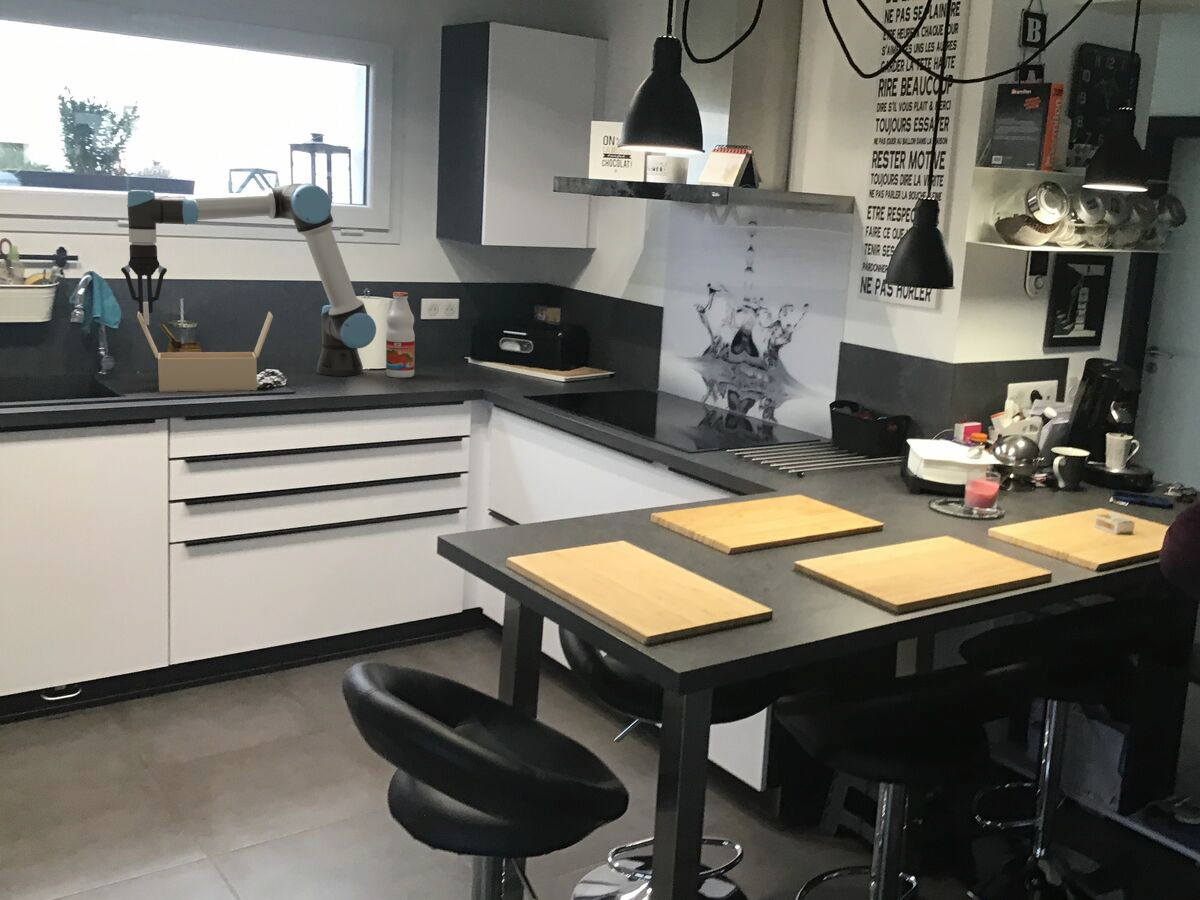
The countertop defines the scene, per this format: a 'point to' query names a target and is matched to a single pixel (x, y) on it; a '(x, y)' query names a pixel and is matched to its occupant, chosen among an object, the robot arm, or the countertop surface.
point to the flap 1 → (147, 334)
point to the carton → (207, 371)
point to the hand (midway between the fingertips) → (146, 324)
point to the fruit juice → (400, 338)
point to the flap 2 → (263, 334)
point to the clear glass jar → (177, 344)
